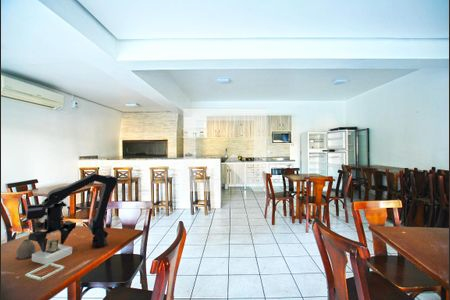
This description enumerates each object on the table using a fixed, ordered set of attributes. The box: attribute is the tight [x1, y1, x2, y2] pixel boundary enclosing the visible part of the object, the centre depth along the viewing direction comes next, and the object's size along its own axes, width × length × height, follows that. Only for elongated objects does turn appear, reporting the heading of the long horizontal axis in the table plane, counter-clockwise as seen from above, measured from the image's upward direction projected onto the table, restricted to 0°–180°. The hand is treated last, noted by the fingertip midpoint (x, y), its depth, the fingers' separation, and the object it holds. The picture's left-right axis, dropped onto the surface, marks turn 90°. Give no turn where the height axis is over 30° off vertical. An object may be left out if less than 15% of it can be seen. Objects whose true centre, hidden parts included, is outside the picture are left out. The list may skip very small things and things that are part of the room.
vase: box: [16, 238, 36, 260], centre depth 108 cm, size 7×7×9 cm
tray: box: [24, 262, 66, 282], centre depth 96 cm, size 10×9×2 cm
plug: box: [47, 238, 59, 254], centre depth 108 cm, size 4×4×8 cm
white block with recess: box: [31, 243, 73, 265], centre depth 108 cm, size 12×10×4 cm
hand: (53, 248), depth 108 cm, fingers open, 8 cm apart
